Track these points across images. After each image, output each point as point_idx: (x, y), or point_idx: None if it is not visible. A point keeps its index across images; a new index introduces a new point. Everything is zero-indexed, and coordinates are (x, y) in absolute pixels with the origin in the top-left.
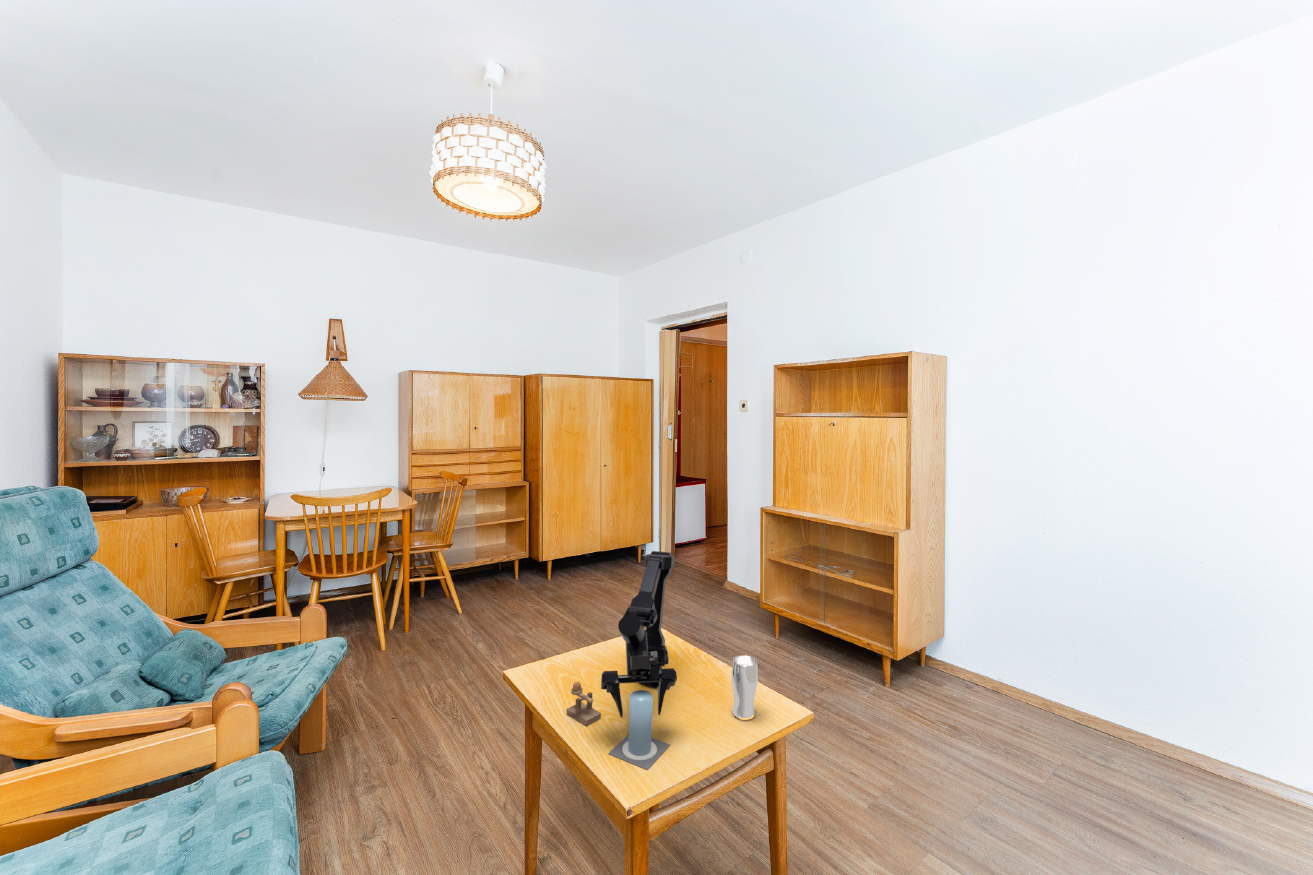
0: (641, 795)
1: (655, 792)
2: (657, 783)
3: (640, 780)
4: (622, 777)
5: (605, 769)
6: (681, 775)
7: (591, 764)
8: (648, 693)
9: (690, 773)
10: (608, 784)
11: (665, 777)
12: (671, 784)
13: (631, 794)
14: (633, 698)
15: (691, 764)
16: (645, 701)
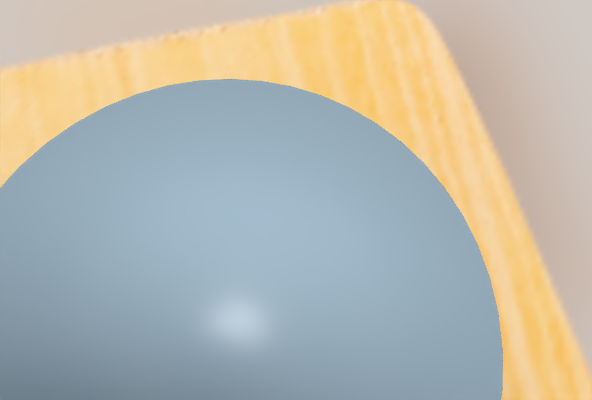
0: (354, 22)
1: (292, 17)
2: (263, 57)
3: (330, 99)
4: (406, 143)
5: (476, 224)
6: (132, 64)
7: (542, 285)
8: (4, 389)
9: (83, 61)
10: (476, 123)
11: (211, 78)
12: (206, 32)
13: (392, 40)
14: (436, 274)
15: (38, 114)
16: (227, 98)
